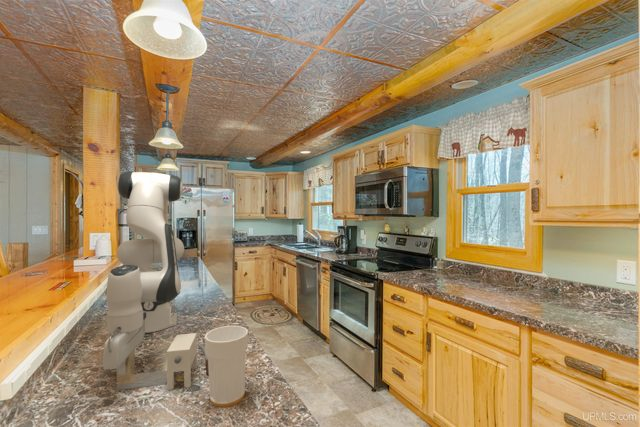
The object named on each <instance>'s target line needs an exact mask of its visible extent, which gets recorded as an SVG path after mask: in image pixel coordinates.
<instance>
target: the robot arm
mask: <svg viewBox="0 0 640 427" xmlns="http://www.w3.org/2000/svg"><path fill="white" fill-rule="evenodd" d="M116 187H117V191H118V194H119V195H120V196H121V197H122V198H123V199H126V200H127V199H128V202H127V207H126V216H125V217H126V220H125V221H126V225H127V227H128V229H130V230H131V231H132V232H133V233H135V234H136V235H139V236H140V237H144V238H137V239H130V240H126V241H123V242H121V243H120V244H119V246H117V250H116V256H117V259H118V261H119V262H120V263H121V264H123V265H120V266H116V267H114V268H112V269H111V270H110V271H109V273H108V277H107V282H106V283H107V284H106V302H107V306H108V308H107V312H106V331H107V333H109V334H110V335H109V337H108V338H107V339H106V340H105V342H104V344H103V345H104V346H103V352H102V353H103V354H102V367H103V369H104V370H114V369H115V370H117V368H118V374H119V375H122V374H125V372H126V371H127V366H126V365H125V362H126V358H127V357H128V356H129V355H130V354H131V353H132V351H133V350H134V349H135V350H136V348H137V347H138V345H140V343H141V342H142V341H143V340H144V338H145V334H146V333H147V334H149V333H154V332H159V331H162V330H165V329H167V328H170V327H171V328H172V327H174V326H177V325H178V312H177V313H176V312H173V304H172V303H171V302H172V301H173V300H175V299H176V298H177V297H178V295H180V293H181V288H182V284H181V277H180V272H179V267H178V260H179V259H181V258H182V257H183V256H184V252H185V246H184V242H183V241H182V240H181V239H179V237H177V236H175V235H174V230H173V228H172V226H171V225H170V224H169V218H168V217H169V203H170V202H177V201H179V199H180V198H181V196H182V195H183V192H184V185H183V182H182V179H181V178H180V177H179V176H177V175H174V174H170V175H169V174H166V173H160V172H147V171H146V172H145V171H134V170H133V171H123V172H122V173H120V174H119V176H118V179H117V183H116ZM160 263H161V264H162V269H161V270H156V269H154V268H152V266H151V265H153V264H160Z"/></svg>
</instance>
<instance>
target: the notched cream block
mask: <svg viewBox="0 0 640 427" xmlns="http://www.w3.org/2000/svg"><path fill="white" fill-rule="evenodd" d="M197 368H198V332H193V333H192V332H191V333H183V334H182V333H181V334H177V335H176V336H175V337H174V339H173V341H172V342H171V344H170V345H169V347H168V348H167V350H166V370H167V384H166V387H167V388H166V390H167V391H171V390H174V389H175V378H174V372H176V373H177V372H183V373H184V381H183V388H184V389H186V388H187V389H188V388H191V385H192V373H191V370H197Z"/></svg>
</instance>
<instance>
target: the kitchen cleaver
mask: <svg viewBox="0 0 640 427" xmlns="http://www.w3.org/2000/svg"><path fill="white" fill-rule="evenodd" d="M198 349H200V350H201V351H202V353H203V355H204V360H205V362H204V363H205V375H206V376H207V377H209V371H208V356H207V355H206V353H205V342H204V343H200V344H199V345H198Z"/></svg>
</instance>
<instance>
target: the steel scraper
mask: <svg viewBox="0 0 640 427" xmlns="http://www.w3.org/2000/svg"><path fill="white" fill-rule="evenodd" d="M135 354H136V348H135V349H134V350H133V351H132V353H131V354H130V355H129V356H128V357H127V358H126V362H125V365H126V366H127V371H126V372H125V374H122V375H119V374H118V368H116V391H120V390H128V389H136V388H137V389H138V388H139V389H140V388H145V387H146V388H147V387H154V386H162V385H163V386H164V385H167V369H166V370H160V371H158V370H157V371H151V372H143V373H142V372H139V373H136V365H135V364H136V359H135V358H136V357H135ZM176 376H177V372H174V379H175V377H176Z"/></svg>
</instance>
